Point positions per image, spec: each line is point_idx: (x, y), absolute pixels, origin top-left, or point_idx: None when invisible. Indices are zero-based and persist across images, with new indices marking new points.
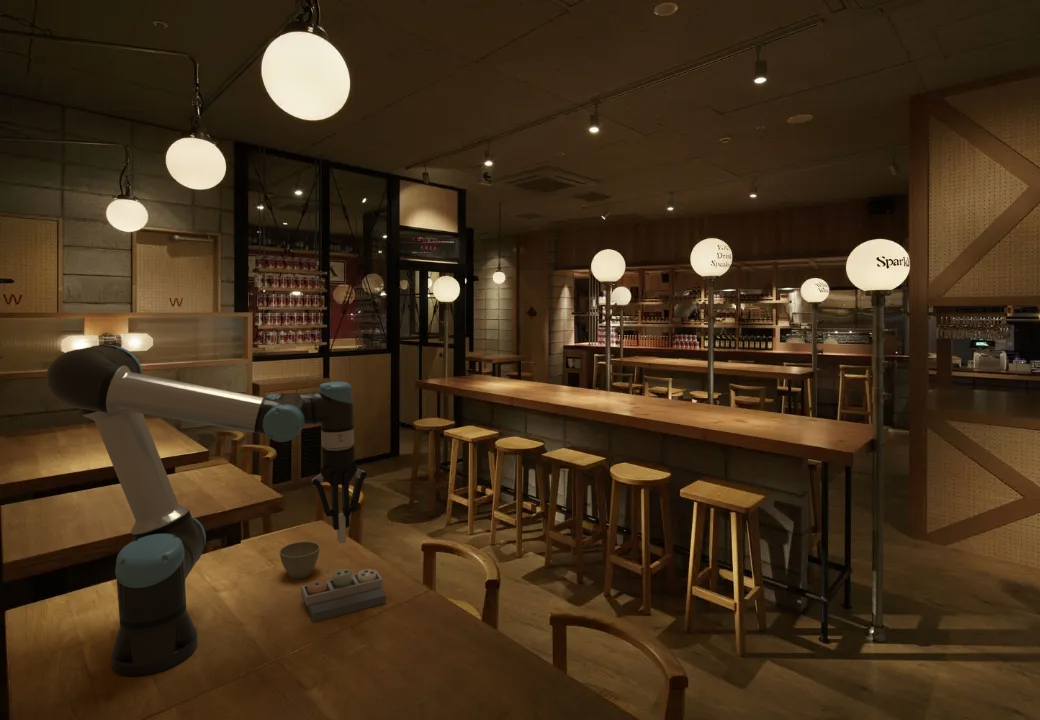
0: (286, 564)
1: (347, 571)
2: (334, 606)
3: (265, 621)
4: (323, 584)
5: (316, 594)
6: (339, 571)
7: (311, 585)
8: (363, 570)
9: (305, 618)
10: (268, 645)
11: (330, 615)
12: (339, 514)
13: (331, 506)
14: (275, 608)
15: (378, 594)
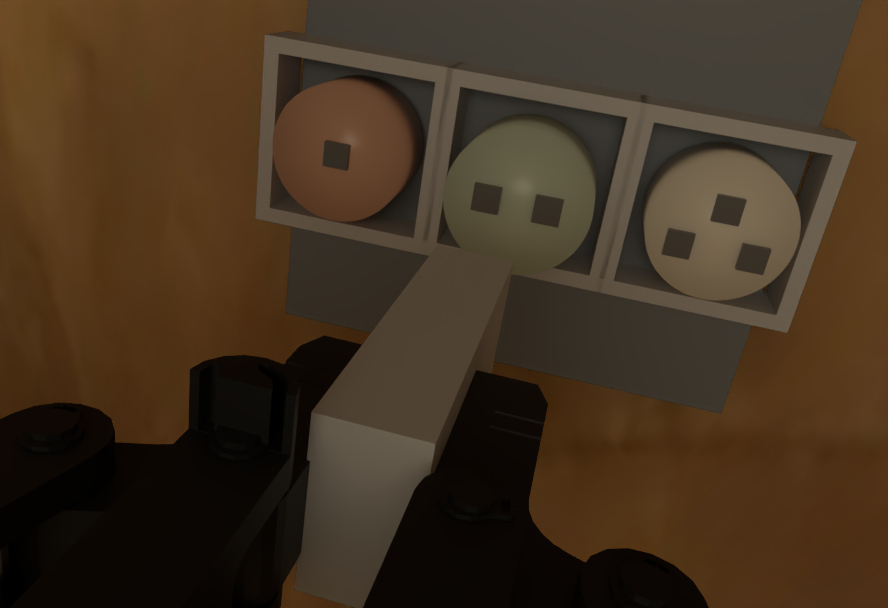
0: None
1: (554, 221)
2: None
3: (97, 121)
4: (374, 186)
5: (320, 225)
6: (508, 162)
7: (298, 145)
8: (724, 171)
9: (281, 234)
10: (93, 341)
11: None
12: (353, 472)
13: (101, 529)
14: (159, 5)
15: (692, 374)
